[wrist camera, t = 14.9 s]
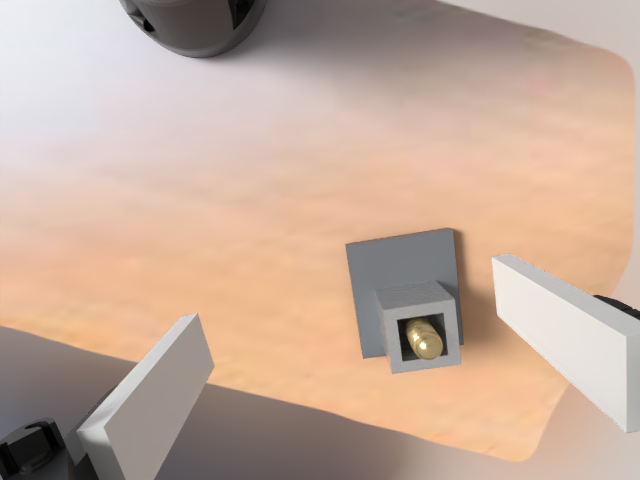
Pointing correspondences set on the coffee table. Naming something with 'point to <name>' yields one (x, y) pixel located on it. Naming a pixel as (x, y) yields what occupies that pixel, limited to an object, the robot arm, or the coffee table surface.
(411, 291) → the steel collar
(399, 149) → the coffee table surface
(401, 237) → the keeper plate
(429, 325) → the pin
